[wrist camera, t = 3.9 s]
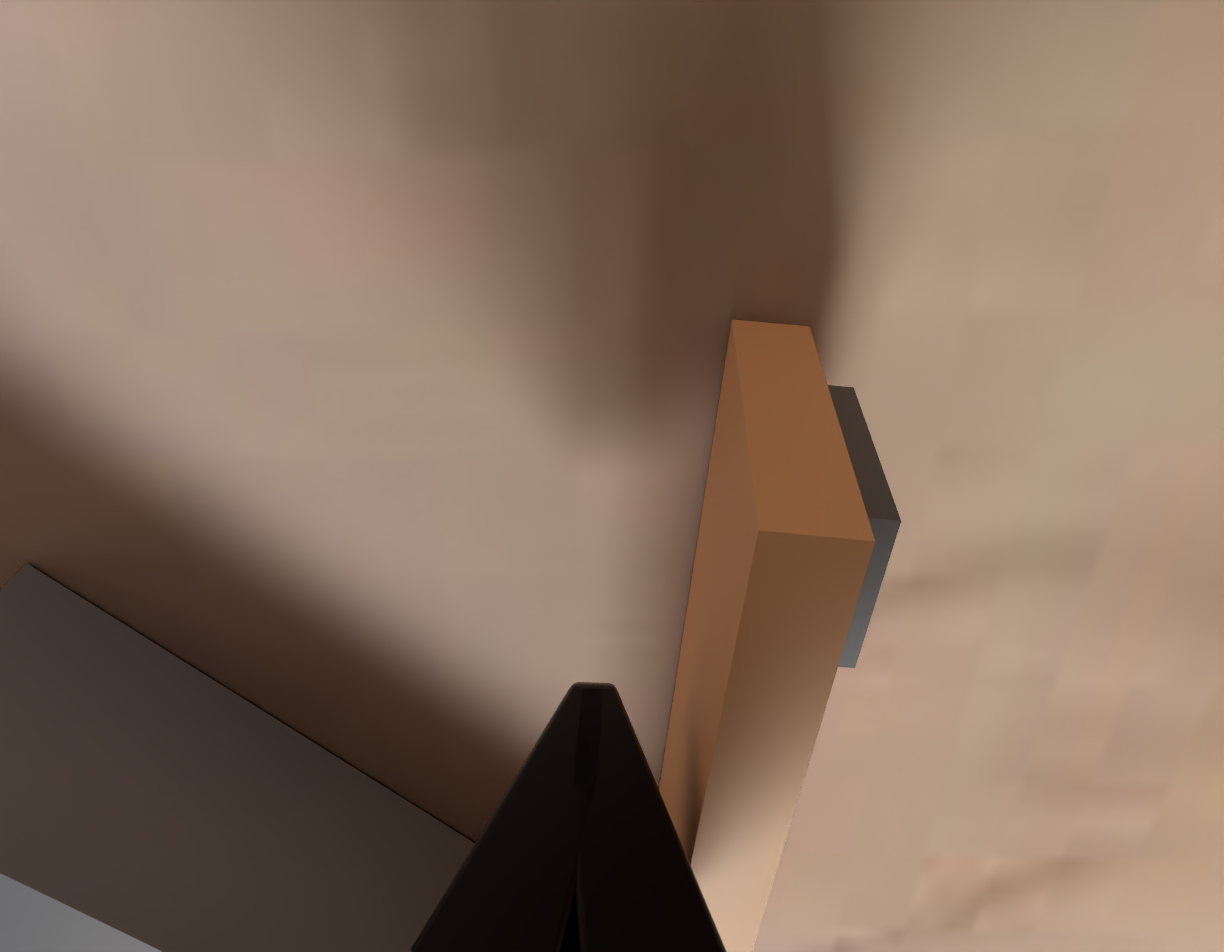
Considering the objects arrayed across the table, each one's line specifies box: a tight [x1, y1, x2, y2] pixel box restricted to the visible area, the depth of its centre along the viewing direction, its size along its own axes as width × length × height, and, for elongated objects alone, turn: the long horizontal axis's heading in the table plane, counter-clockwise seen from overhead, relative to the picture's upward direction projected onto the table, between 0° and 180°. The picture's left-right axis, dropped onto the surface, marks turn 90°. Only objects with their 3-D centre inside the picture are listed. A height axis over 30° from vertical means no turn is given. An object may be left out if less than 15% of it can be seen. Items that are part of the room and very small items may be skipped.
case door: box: [659, 319, 901, 952], centre depth 11 cm, size 1×12×4 cm, turn 176°
